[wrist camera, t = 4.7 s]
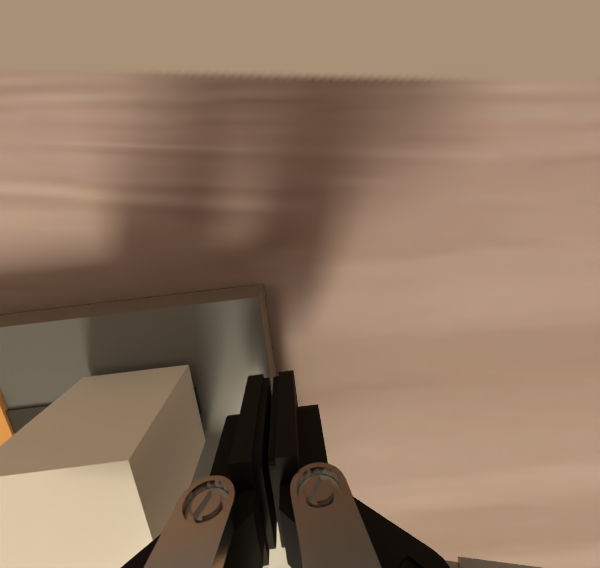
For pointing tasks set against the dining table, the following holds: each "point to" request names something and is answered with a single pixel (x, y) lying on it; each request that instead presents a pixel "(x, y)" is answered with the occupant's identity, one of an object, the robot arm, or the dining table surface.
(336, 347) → the dining table surface
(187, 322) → the switch panel
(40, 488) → the tab
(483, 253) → the dining table surface
